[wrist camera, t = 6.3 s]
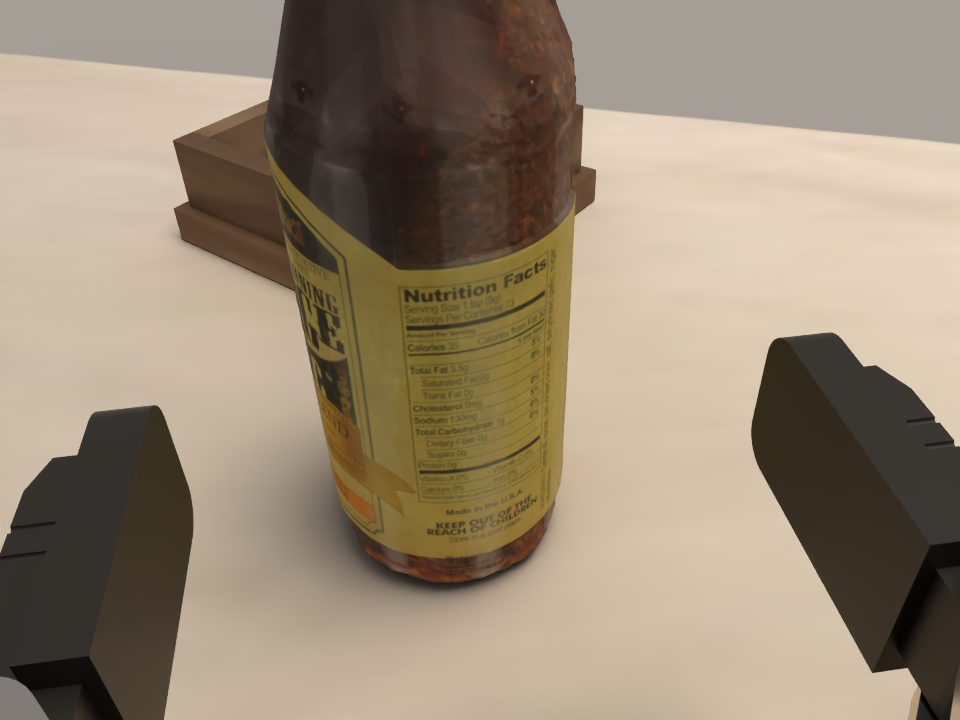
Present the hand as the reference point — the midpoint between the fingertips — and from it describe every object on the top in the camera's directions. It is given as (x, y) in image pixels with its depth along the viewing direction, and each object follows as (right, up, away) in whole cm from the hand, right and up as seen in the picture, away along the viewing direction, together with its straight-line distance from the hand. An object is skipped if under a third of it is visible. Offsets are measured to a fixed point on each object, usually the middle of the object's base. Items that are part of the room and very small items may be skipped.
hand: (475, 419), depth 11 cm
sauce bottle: (-1, -4, +13) cm, 14 cm away
